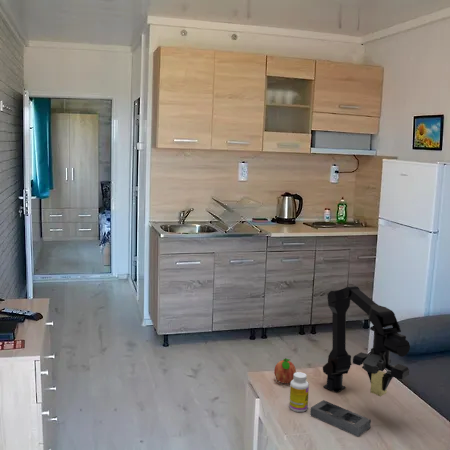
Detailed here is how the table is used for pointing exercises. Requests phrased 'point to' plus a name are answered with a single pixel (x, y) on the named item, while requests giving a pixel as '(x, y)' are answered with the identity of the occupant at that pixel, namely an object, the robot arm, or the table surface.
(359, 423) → the grey block holder tray
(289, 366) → the fruit
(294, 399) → the supplement bottle
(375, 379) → the olive grained block
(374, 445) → the table surface
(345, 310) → the robot arm
